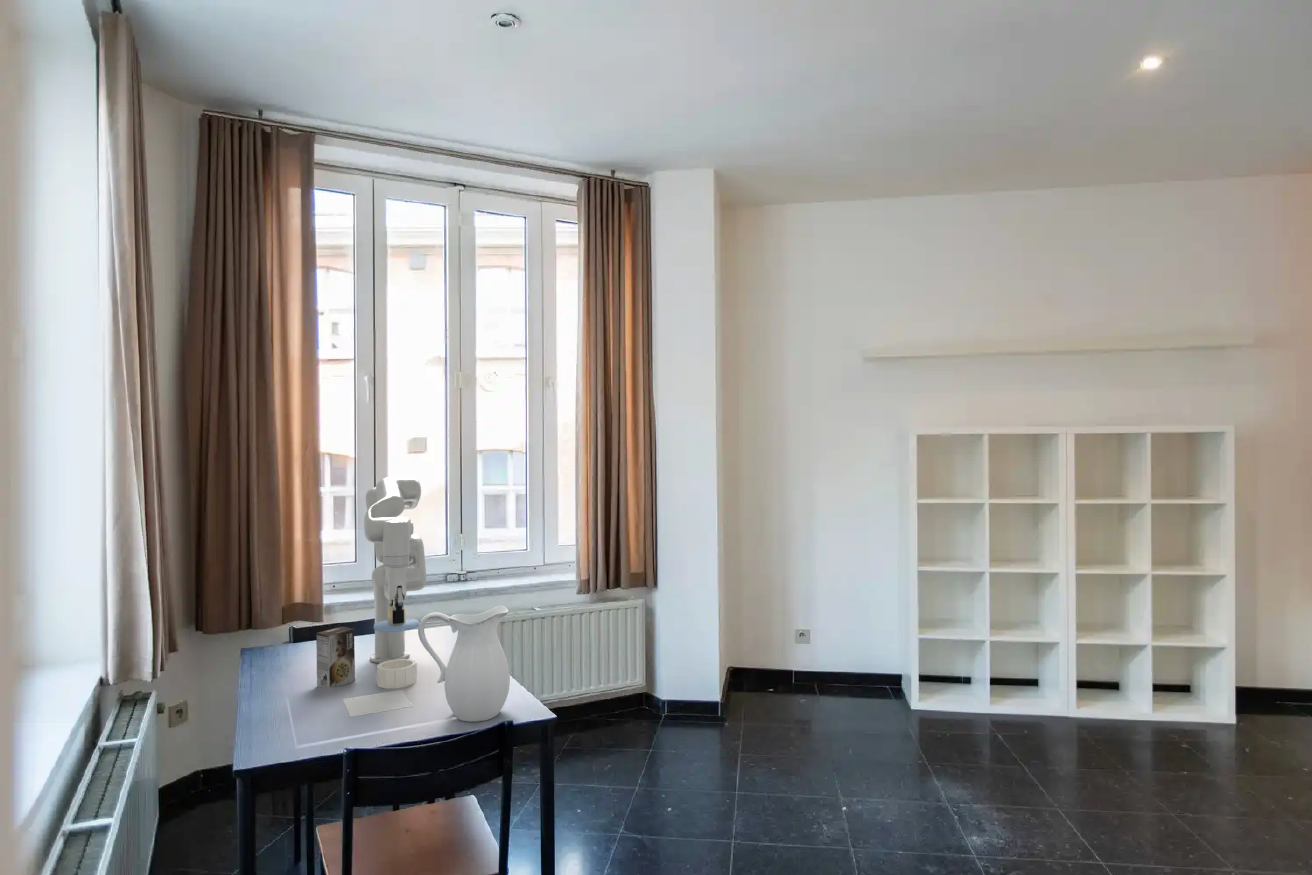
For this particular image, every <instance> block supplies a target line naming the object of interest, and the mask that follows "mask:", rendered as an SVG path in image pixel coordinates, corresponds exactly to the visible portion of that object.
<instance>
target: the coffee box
mask: <svg viewBox="0 0 1312 875" xmlns="http://www.w3.org/2000/svg"><path fill="white" fill-rule="evenodd" d="M315 634H316V637H315V638H316V642H315V643H316V686H317V687H319V688H323V689H326V688H334V687H339V686H344V685H346V684H349V683H352V682H355V681H356V669H355V668H356V661H355V660H356V659H355V658H356V657H355V656H356V655H355V653H356V652H355V628H350V627H348V626H347V627H346V626H338V627H334V628H331V629H327V630H323V631H319V632H316V633H315Z"/></svg>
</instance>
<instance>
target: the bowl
mask: <svg viewBox="0 0 1312 875" xmlns="http://www.w3.org/2000/svg"><path fill="white" fill-rule="evenodd" d="M417 664H418V663H417V661H416V660H414V659H409V658H407V659H396V660H389V661H385V662H382V663H378V664H377V665H376V685H377V687H379V688H382V689H399V688H406V687H409V686H411V685H412V686H413V685H415V683H416V682H417V681H418V680H417V679H418V678H417V677H418V676H417V675H418V674H417V672H418V670H417V667H418V666H417Z"/></svg>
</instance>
